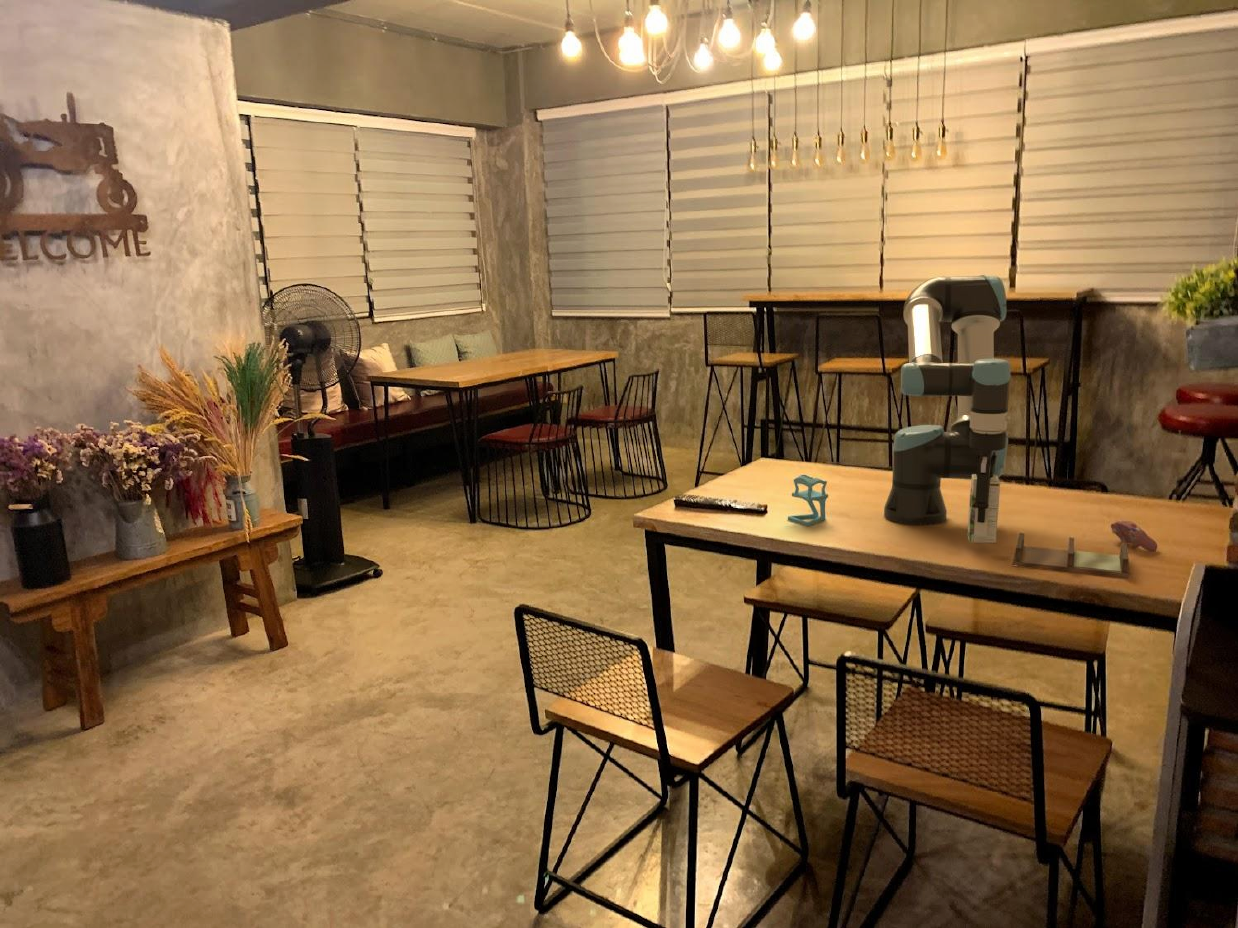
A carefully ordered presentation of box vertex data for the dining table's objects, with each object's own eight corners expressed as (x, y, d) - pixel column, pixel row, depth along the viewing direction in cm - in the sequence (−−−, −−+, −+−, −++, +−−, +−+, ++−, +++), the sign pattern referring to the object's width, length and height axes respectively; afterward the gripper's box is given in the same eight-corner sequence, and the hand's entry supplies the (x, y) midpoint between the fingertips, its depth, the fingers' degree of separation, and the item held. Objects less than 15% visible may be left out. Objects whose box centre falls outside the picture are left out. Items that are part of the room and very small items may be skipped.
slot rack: (1012, 565, 195) (1013, 547, 194) (1016, 549, 205) (1017, 532, 204) (1129, 578, 185) (1131, 559, 184) (1127, 560, 196) (1129, 542, 195)
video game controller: (1114, 546, 210) (1103, 520, 209) (1132, 536, 210) (1121, 511, 209) (1142, 559, 201) (1131, 533, 199) (1161, 549, 201) (1150, 523, 199)
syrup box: (966, 534, 209) (970, 473, 206) (994, 535, 208) (998, 474, 204) (968, 542, 204) (972, 479, 201) (997, 543, 202) (1001, 480, 199)
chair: (832, 521, 232) (833, 475, 229) (807, 526, 228) (808, 479, 225) (811, 514, 238) (812, 470, 236) (787, 519, 234) (787, 474, 232)
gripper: (1002, 440, 190) (996, 545, 195) (1010, 423, 207) (1003, 520, 212) (964, 438, 193) (959, 541, 199) (974, 421, 210) (969, 517, 215)
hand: (982, 530), depth 205 cm, fingers closed on syrup box, 6 cm apart
